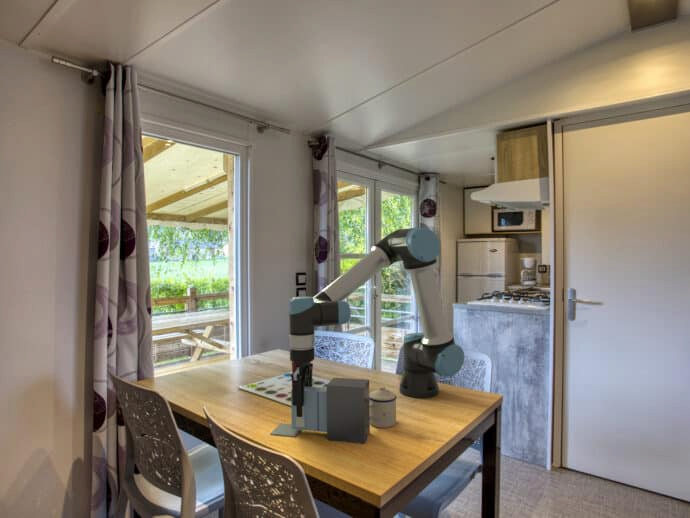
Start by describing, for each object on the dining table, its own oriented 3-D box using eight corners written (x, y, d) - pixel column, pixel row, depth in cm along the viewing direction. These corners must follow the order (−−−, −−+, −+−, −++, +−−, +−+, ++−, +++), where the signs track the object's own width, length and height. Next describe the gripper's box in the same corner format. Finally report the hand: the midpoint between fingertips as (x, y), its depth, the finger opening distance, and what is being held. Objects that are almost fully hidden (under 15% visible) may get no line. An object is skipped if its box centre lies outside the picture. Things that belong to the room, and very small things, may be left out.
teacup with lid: (382, 415, 142) (382, 380, 142) (402, 423, 135) (402, 387, 135) (356, 424, 134) (355, 388, 134) (375, 433, 127) (375, 395, 127)
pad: (304, 426, 133) (304, 425, 133) (295, 437, 125) (295, 436, 125) (280, 424, 135) (280, 423, 135) (270, 434, 127) (270, 433, 127)
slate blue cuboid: (339, 427, 128) (339, 388, 128) (336, 433, 124) (335, 392, 124) (296, 423, 132) (295, 385, 131) (291, 428, 128) (291, 389, 128)
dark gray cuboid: (369, 432, 128) (369, 379, 128) (364, 444, 120) (363, 387, 120) (331, 428, 131) (330, 377, 131) (323, 439, 123) (323, 385, 123)
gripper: (300, 341, 138) (301, 412, 138) (279, 353, 121) (280, 433, 122) (322, 342, 136) (322, 413, 136) (304, 354, 119) (305, 436, 120)
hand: (303, 423), depth 129 cm, fingers closed on slate blue cuboid, 4 cm apart
